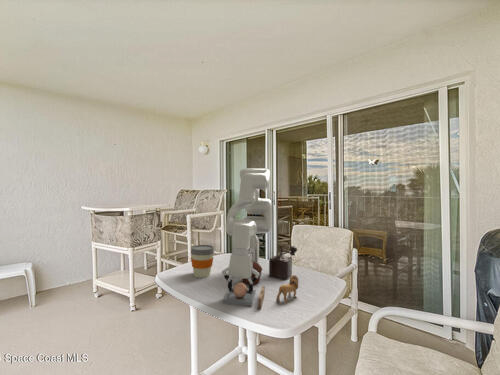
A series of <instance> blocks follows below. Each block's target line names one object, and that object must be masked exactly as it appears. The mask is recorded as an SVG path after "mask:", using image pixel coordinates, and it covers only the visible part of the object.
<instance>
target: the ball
mask: <svg viewBox="0 0 500 375" xmlns="http://www.w3.org/2000/svg"><path fill="white" fill-rule="evenodd" d="M233 288H234V289H233V292H234V295H235V296H236V297H238V298H242V297H244V296H245V295H246V293H247V289H248V287H247V285H246V284H244V283H243V282H238V283H236V284H235V285H234V286H233Z"/></svg>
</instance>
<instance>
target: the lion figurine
mask: <svg viewBox="0 0 500 375" xmlns="http://www.w3.org/2000/svg"><path fill="white" fill-rule="evenodd" d="M298 288H299V278H298V276H297V275H295V274H292V275H291V276H290V277H289V282H288V284H282V285H280V286H279V288H278V289H279V290H278V294H277V295H276V302H277V304H280V301H281V300H280V296H281V295H283V300H284V302H285V303H289V300H287V296H288V297H289V296H290V297H292V294H291V293H292V292H293V298H294V297H296V298H297V296H296V294H297V290H298Z"/></svg>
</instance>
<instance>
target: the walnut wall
mask: <svg viewBox="0 0 500 375" xmlns="http://www.w3.org/2000/svg"><path fill="white" fill-rule="evenodd" d="M265 288H266V286H263V285H262V286H261V289H260V291H259V296H258V300H257V302H258V303H257V306H258V307H257V309H258V310H262V308H263V302H264V298H265V291H266V290H265Z"/></svg>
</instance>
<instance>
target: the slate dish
mask: <svg viewBox="0 0 500 375" xmlns="http://www.w3.org/2000/svg"><path fill="white" fill-rule="evenodd" d="M233 289H234V287H232V290H231V291H230V292H229V289H228V291H227V292H226V294H225V295H224V297H223V299H222V304H225V305H235V306H245V307H252V306H253V304H254V301H255V297H256V295H257V294H256V293H257V291H256V289H253V291H251V293H249V288H247V293H246V295H245V296H244V297H242V298H238V297H236V296H235V295H234V292H233Z"/></svg>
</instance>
